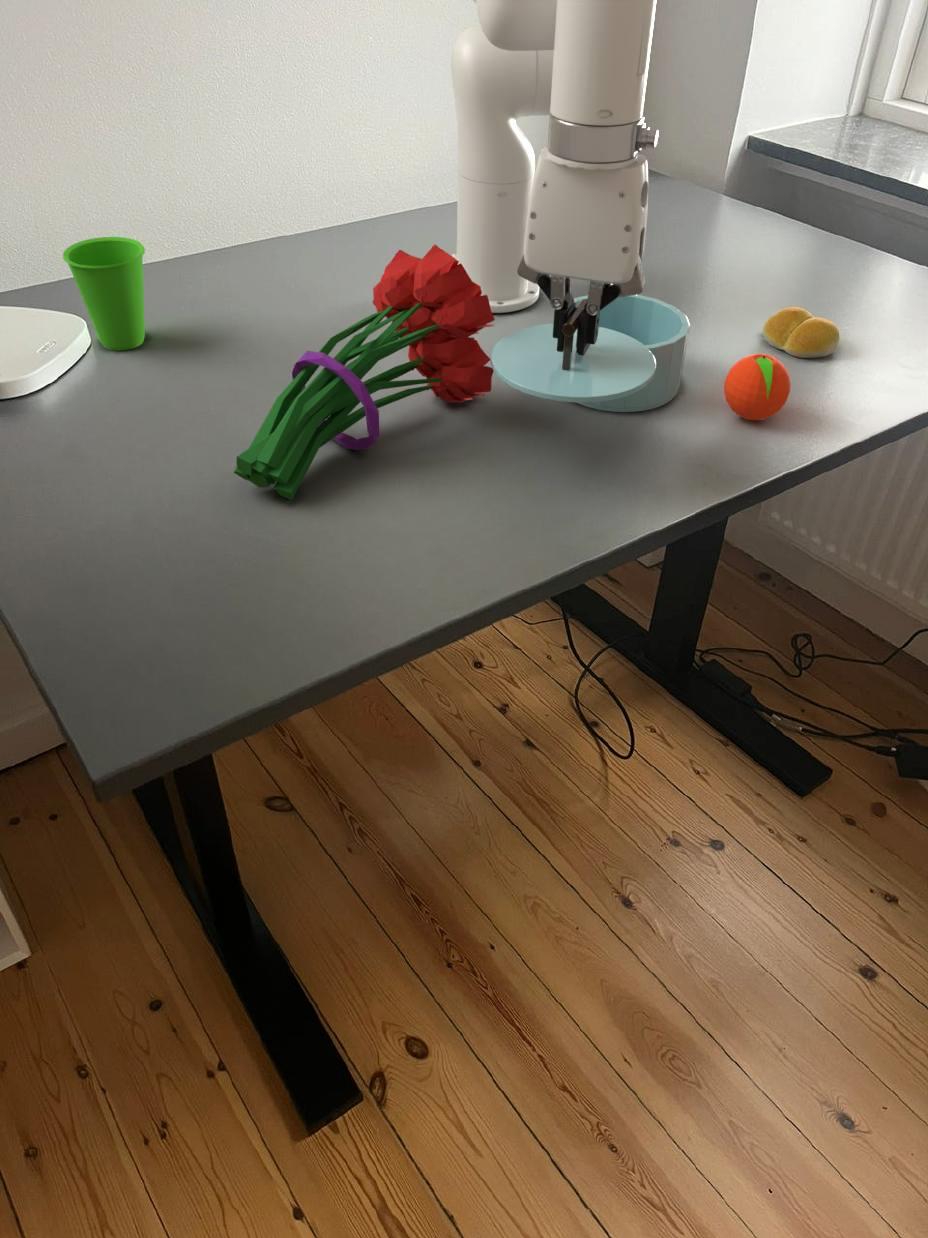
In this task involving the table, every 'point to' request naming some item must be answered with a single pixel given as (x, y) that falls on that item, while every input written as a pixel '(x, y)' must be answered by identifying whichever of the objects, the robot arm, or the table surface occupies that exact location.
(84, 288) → the cup
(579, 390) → the lid
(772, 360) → the clementine
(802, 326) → the bread roll
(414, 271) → the bouquet
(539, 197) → the robot arm
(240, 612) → the table surface
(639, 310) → the pot
